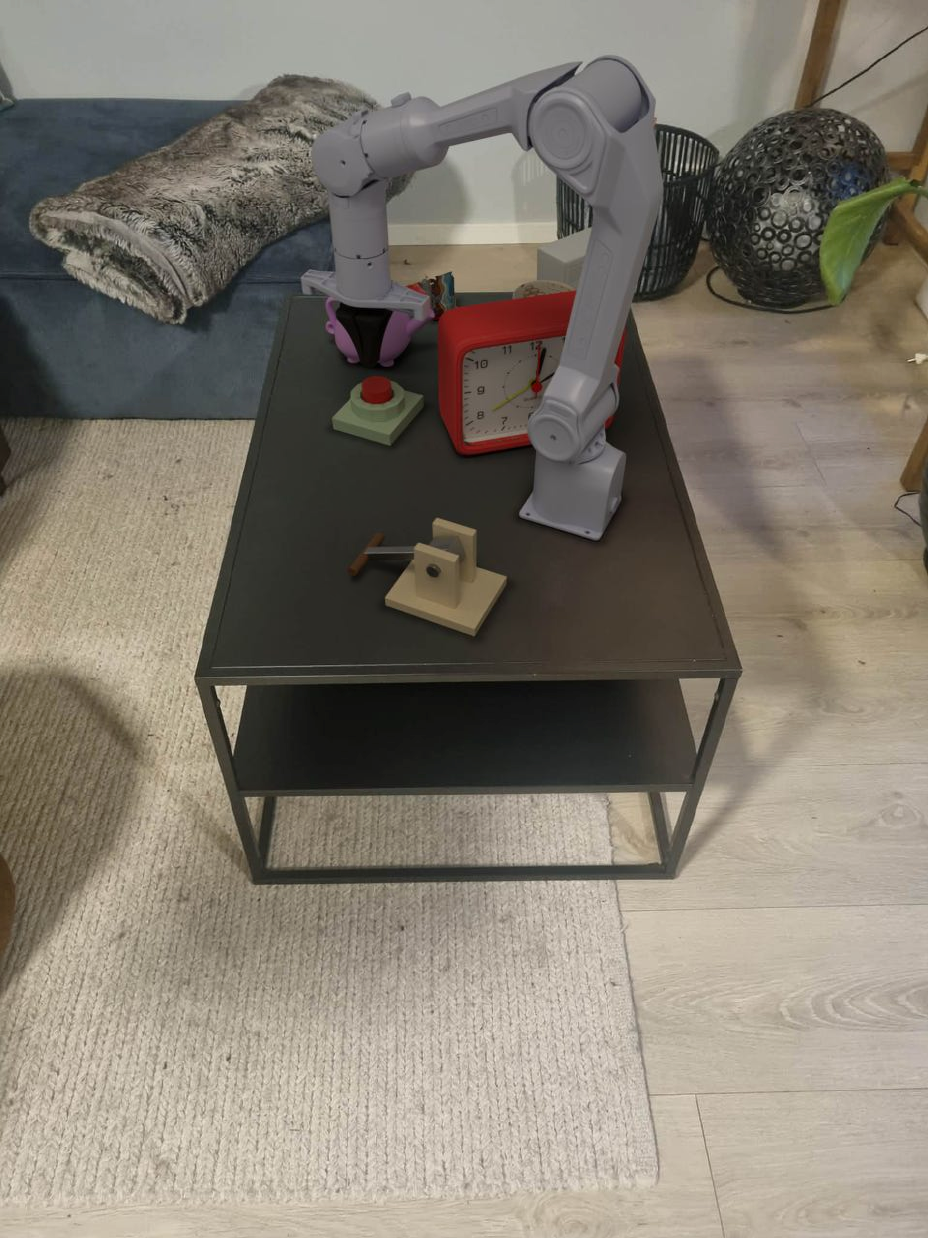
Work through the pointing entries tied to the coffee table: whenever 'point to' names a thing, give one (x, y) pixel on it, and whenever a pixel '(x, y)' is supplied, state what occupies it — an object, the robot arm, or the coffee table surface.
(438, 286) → the multicoloured jagged piece
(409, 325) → the teapot
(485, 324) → the alarm clock
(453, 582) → the bracket
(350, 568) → the lever
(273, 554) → the coffee table surface
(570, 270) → the cosmetics box
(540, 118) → the robot arm
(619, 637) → the coffee table surface
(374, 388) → the button
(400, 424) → the button box
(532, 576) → the coffee table surface
